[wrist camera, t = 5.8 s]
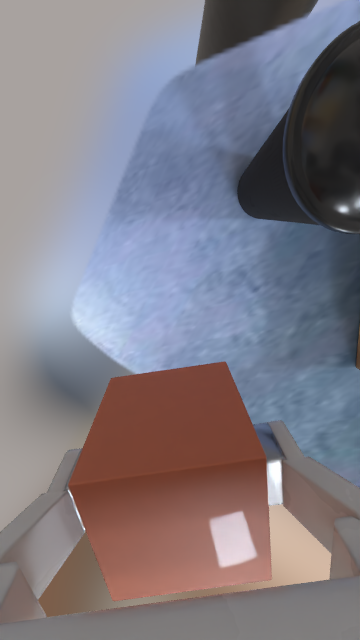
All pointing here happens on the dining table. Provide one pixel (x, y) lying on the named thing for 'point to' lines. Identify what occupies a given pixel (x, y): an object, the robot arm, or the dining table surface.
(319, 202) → the drinking cup
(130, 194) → the dining table surface
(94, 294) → the dining table surface
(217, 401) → the block
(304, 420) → the dining table surface
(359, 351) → the cabinet
